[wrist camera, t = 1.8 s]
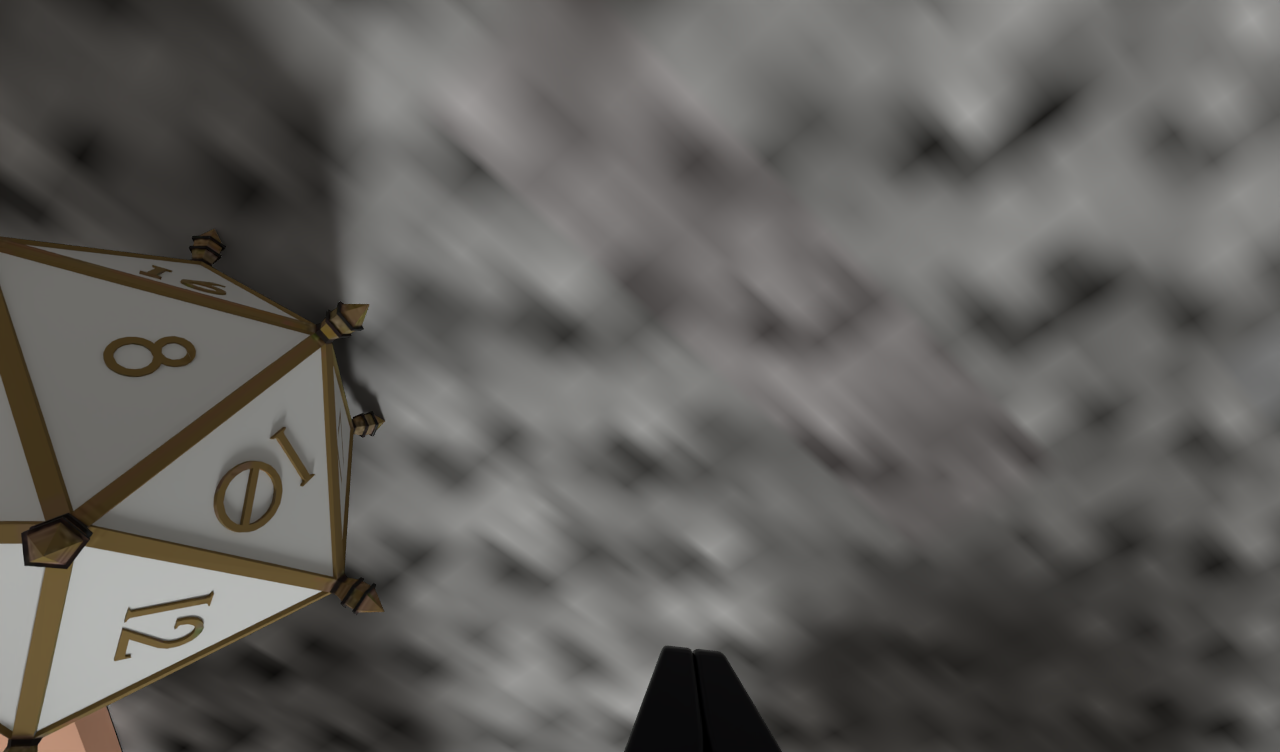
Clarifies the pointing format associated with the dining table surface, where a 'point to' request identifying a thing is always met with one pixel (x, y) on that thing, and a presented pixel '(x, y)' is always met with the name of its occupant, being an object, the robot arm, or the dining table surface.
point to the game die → (158, 472)
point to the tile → (80, 736)
